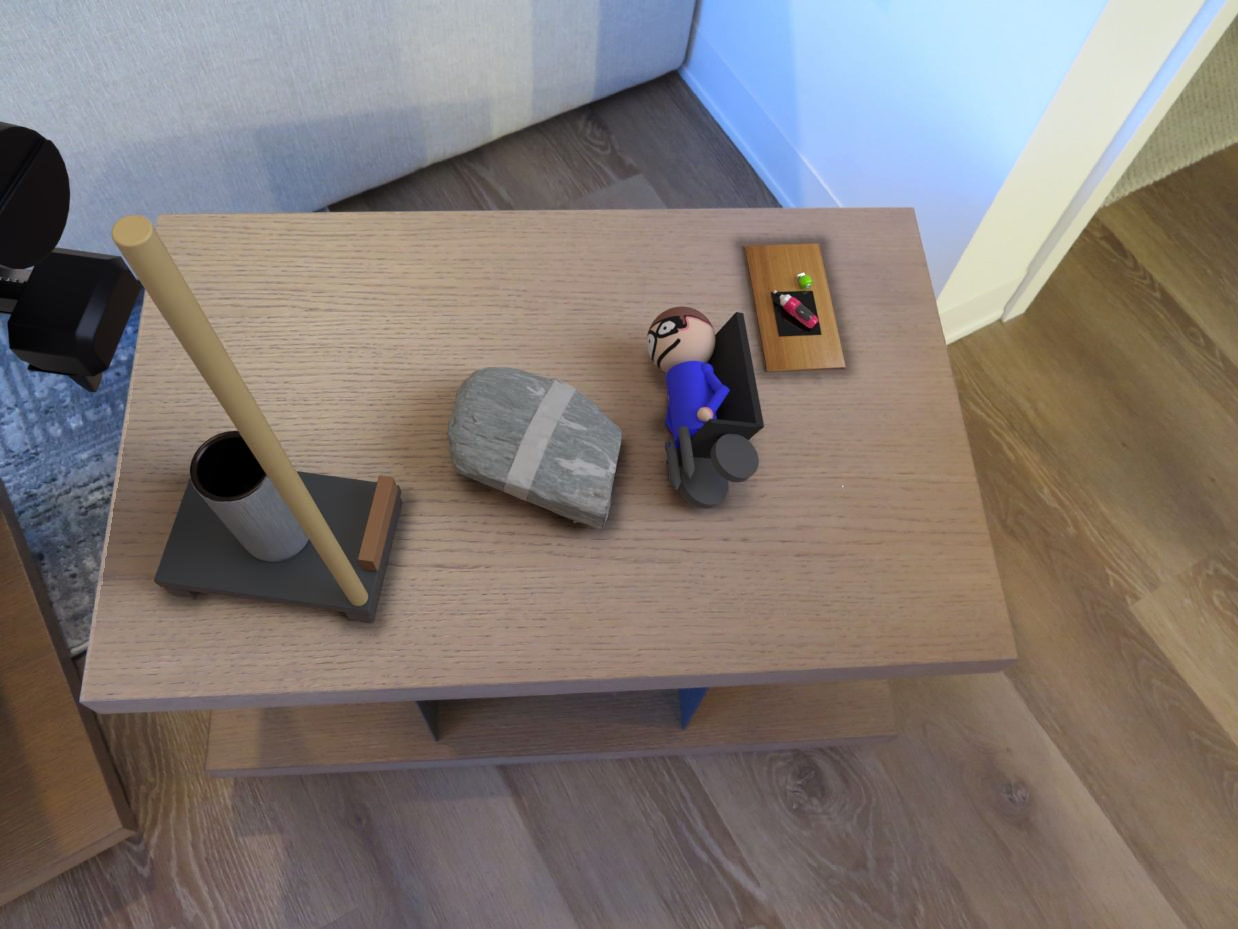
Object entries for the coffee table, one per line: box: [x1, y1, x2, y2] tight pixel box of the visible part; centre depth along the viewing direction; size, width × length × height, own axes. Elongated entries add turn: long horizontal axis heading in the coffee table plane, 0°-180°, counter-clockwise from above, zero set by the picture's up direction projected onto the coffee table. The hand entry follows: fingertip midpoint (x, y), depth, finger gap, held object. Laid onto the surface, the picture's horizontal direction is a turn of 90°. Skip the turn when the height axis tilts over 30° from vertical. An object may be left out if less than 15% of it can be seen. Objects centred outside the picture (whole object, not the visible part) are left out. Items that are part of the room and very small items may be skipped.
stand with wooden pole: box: [110, 214, 403, 624], centre depth 48 cm, size 14×9×40 cm, turn 83°
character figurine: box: [646, 306, 765, 510], centre depth 69 cm, size 8×7×15 cm
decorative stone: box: [446, 366, 623, 531], centre depth 68 cm, size 13×10×6 cm
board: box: [744, 243, 847, 373], centre depth 77 cm, size 6×12×2 cm, turn 5°
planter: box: [189, 430, 309, 562], centre depth 59 cm, size 4×4×10 cm
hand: (18, 374), depth 56 cm, fingers open, 9 cm apart
